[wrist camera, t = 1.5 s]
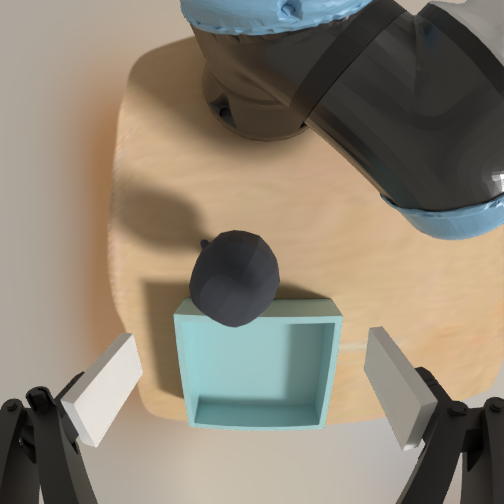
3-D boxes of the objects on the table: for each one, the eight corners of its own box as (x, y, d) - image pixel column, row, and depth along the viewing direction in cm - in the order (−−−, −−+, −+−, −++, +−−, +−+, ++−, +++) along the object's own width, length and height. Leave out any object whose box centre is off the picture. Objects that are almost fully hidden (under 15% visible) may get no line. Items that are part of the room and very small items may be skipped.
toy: (193, 260, 35) (150, 303, 20) (227, 206, 34) (201, 213, 19) (256, 299, 36) (253, 365, 21) (291, 247, 34) (314, 285, 20)
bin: (185, 297, 36) (173, 314, 31) (331, 298, 35) (342, 315, 30) (196, 402, 39) (189, 426, 34) (318, 404, 39) (323, 428, 33)
